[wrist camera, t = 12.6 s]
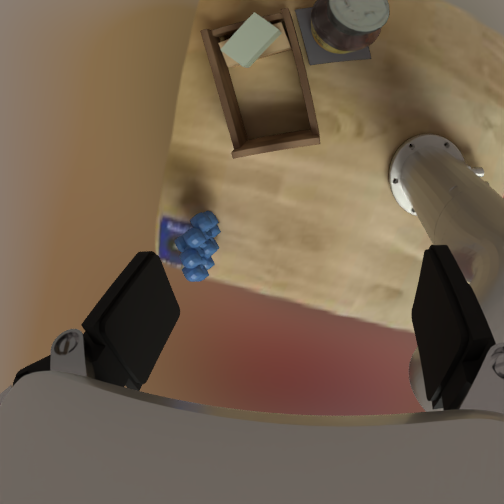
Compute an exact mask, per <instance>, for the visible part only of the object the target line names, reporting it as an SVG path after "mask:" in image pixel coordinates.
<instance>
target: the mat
mask: <svg viewBox="0 0 504 504" xmlns="http://www.w3.org/2000/svg"><path fill="white" fill-rule="evenodd" d="M312 8H313V7H310V8H304V9H297V10H295V12H296V15H297V19H298V22H299V26H300V29H301V33H302V36H303V40H304V44H305V48H306V52H307V55H308V59H309V64H310V65H315V64H323V63H331V62H339V61H350V60H362V59H371V55H370V51H369V46H367V47H365V48H363V49H360V50H357V51H353V52H349V53H345V54H336V53H332V52H329V51H326V50H325V49H323V48H322V47H320V46H319V45H318V44H317V43H316V41H315V40H314V38H313V35H312V32H311V11H312Z"/></svg>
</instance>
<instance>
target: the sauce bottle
mask: <svg viewBox="0 0 504 504" xmlns="http://www.w3.org/2000/svg"><path fill="white" fill-rule="evenodd" d="M388 17H389V4H388V1H387V0H317V1H316V2H315V4H314V6H313V8H312V11H311V32H312V35H313V38H314V40H315V41H316V43H317V44H318V45H319V46H320V47H322V48H323V49H325V50H326V51H329V52H332V53H336V54H345V53H349V52H353V51H357V50H360V49H363V48H365V47H367V46H369V45H370V44H372V43H373V42H374V41H375V40H376V39H377V37H378V36H379V34H380V31H381V27H382V26H383V25H384V24H385V23H386V22H387V20H388Z"/></svg>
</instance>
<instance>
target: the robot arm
mask: <svg viewBox="0 0 504 504" xmlns="http://www.w3.org/2000/svg"><path fill="white" fill-rule="evenodd" d="M445 143H446V145H444V144H445ZM410 144H411V147H409V145H410ZM483 176H484V170H483V168H482V167H474V168H471V167H470V166H469V165H468V164H466V163H465V160H464V158H463V156H462V154H461V152H460V151H459V149H458V148H457V147H456V146H455V145H454V144H453V143H452V142H451V141H449V140H448V139H446V138H444V137H442V136H439V135H435V134H421V135H417V136H414V137H412V138H410V139H408V140H407V141H406V142H405V143H403V144H402V145H401V146H400V148H399V149H398V150H397V151H396V153H395V155H394V156H393V159H392V161H391V164H390V169H389V184H390V189H391V191H392V194H393V196H394V198H395V199H396V201H397V202H398V204H399V205H400V206H401V207H402V208H403V209H404V210H405V211H407V212H408V213H410V214H412V215H415V216H418V218H419V220H420V221H421V223H422V225H423V227H424V228H425V230H426V232H427V234H428V236H429V238H430V239H431V241H432V243H433V245H431V246H430V248H429V249H428V250H425V252H424V257H423V262H422V267H421V272H420V277H419V282H418V287H417V291H416V295H415V300H414V304H413V308H412V322H413V327H414V331H415V336H416V340H417V345H418V347H417V348H416V350H415V352H414V354H413V355H412V358H411V361H410V364H409V380H410V384H411V388H412V390H413V393H414V394H415V396H416V398H417V400H418V401H419V403H420V405H421V406H422V407H423V408H424V410H425V411H426V412H420V413H407V414H391V415H367V416H312V415H291V414H277V413H265V412H254V411H246V410H238V409H229V408H223V407H216V406H209V405H203V404H197V403H192V402H186V401H181V400H176V399H171V398H166V397H161V396H157V395H152V394H149V393H144V392H140V391H139V390H140V388H141V386H142V384H144V383H146V381H147V380H148V378H149V375H150V374H151V372H152V369H153V367H154V365H155V363H156V361H157V359H158V357H159V355H160V353H161V351H162V349H163V347H164V345H165V343H166V341H167V340H168V338H169V335H170V334H171V332H172V330H173V328H174V326H175V324H176V322H177V320H178V318H179V315H180V308H179V305H178V303H177V300H176V298H175V296H174V293H173V291H172V288H171V286H170V283H169V281H168V278H167V276H166V273H165V270H164V268H163V265H162V262H161V260H160V257H159V256H158V255H156V254H155V253H154V252H152V251H149V252H139V253H137V254H136V256H135V257H134V258H133V259H132V261H131V262H130V263H129V264H128V265H127V267H126V268H125V269H124V270H123V271H122V273H121V274H120V275H119V276H118V278H117V279H116V280H115V282H114V283H113V284H112V285H111V286H110V288H109V289H108V290H107V291H106V293H105V294H104V295H103V297H102V298H101V299H100V301H99V302H98V303H97V304H96V306H95V307H94V309H93V310H92V311H91V312H90V314H89V315H88V316H87V318H86V319H85V320H84V322H83V323H82V327H83V328H84V329H85V333H84V334H83V333H82V332H81V331H80V330H77V329H70V330H67V331H65V332H63V333H61V334H60V335H59V336H58V337H57V338H56V339H55V341H54V342H53V344H52V347H51V355H49V356H47V357H45V358H43V359H41V360H39V361H37V362H35V363H33V364H31V365H29V366H27V367H25V368H23V369H21V370H20V371H19V372H18V373H17V374H16V377H15V379H14V382H13V386H9V387H8V388H7V389H6V390H5V391H3V392H2V393H1V394H0V504H504V198H502V197H501V196H500V195H499V194H498V193H497V192H496V191H495V190H494V189H492V188H491V187H490V186H489V183H488V182H487V181H483V180H482V179H481V178H480V177H483ZM394 178H396V179H395V180H393V179H394ZM467 282H470V284H468V283H467ZM125 385H126V386H127V388H125V387H124V386H125ZM132 389H133V390H132ZM136 390H137V391H136Z"/></svg>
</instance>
